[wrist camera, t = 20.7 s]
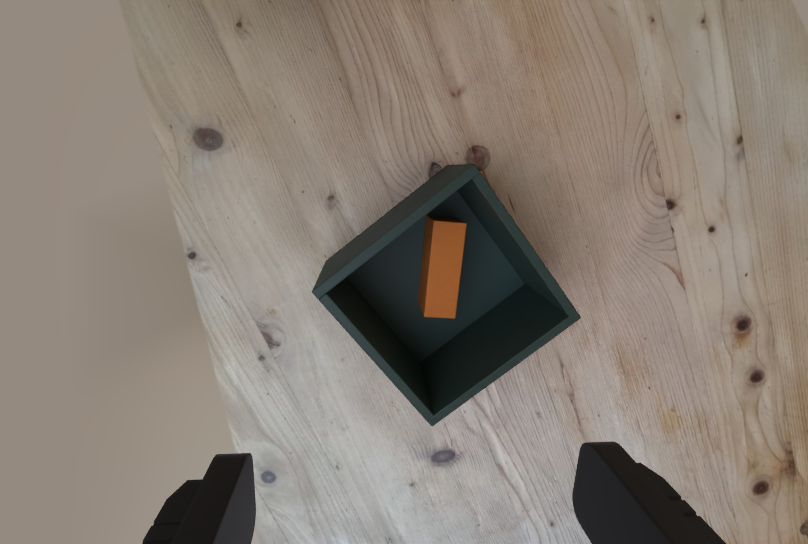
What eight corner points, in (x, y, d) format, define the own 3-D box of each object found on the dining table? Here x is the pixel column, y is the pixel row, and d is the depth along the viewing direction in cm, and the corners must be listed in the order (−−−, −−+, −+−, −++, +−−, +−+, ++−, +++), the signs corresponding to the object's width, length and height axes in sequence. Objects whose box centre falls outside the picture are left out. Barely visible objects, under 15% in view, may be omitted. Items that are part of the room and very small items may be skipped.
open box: (325, 261, 42) (311, 292, 32) (447, 164, 41) (474, 163, 30) (417, 368, 46) (431, 427, 35) (531, 283, 45) (581, 317, 34)
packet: (423, 317, 38) (433, 220, 36) (417, 300, 43) (426, 214, 41) (455, 318, 39) (467, 222, 36) (445, 302, 43) (455, 216, 41)
